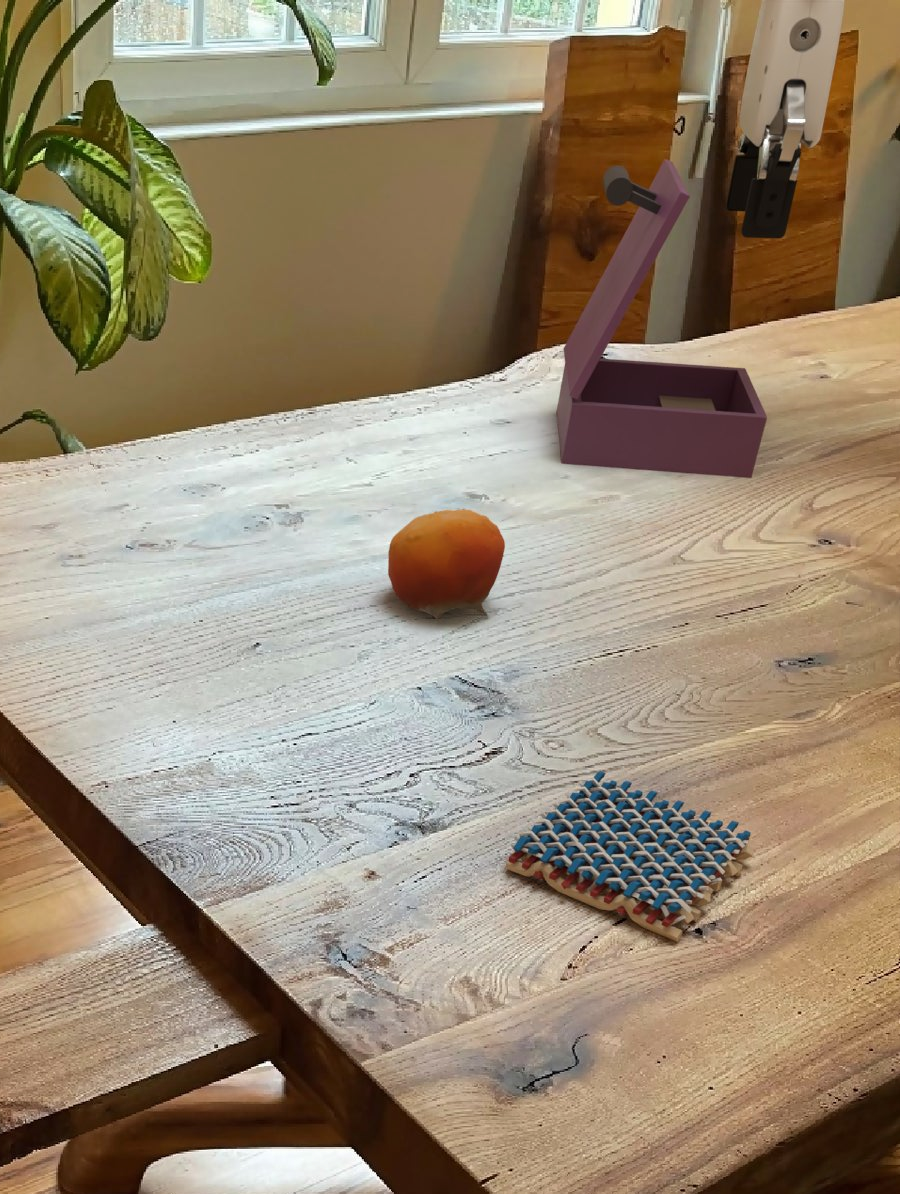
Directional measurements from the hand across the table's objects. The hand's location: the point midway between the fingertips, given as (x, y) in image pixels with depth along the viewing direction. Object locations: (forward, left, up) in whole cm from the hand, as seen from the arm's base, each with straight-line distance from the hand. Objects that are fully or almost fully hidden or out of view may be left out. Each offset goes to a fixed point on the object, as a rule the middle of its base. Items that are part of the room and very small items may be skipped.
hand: (753, 223), depth 117 cm
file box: (+4, 0, -20) cm, 20 cm away
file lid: (+9, 0, -5) cm, 10 cm away
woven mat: (+10, +65, -20) cm, 69 cm away
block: (+2, 0, -19) cm, 19 cm away
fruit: (+21, +33, -20) cm, 44 cm away
